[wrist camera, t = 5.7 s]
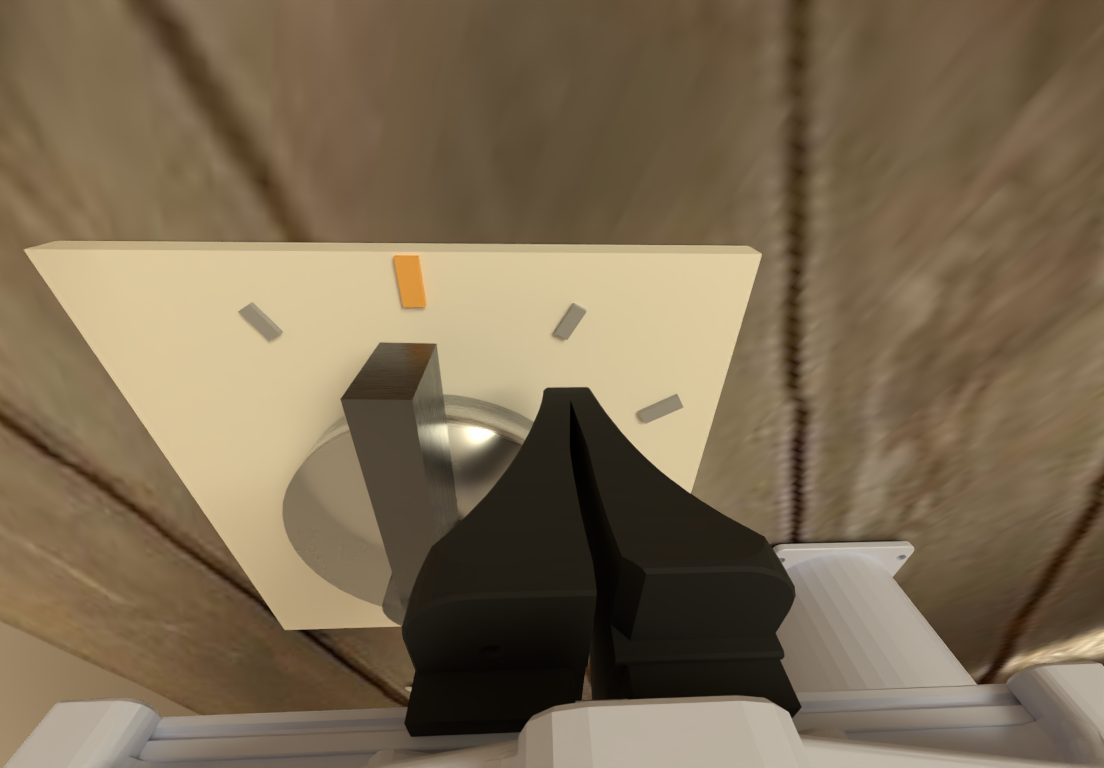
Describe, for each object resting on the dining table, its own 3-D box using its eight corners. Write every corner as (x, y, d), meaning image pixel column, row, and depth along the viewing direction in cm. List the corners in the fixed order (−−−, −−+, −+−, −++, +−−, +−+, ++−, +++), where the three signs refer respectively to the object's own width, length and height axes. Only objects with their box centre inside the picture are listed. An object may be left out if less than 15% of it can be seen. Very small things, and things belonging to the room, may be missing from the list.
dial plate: (649, 602, 25) (654, 621, 24) (293, 612, 25) (282, 633, 24) (747, 245, 13) (765, 255, 12) (57, 241, 13) (15, 251, 12)
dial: (573, 580, 22) (582, 679, 18) (343, 582, 21) (300, 687, 17) (606, 321, 13) (636, 403, 10) (229, 312, 13) (96, 395, 9)
